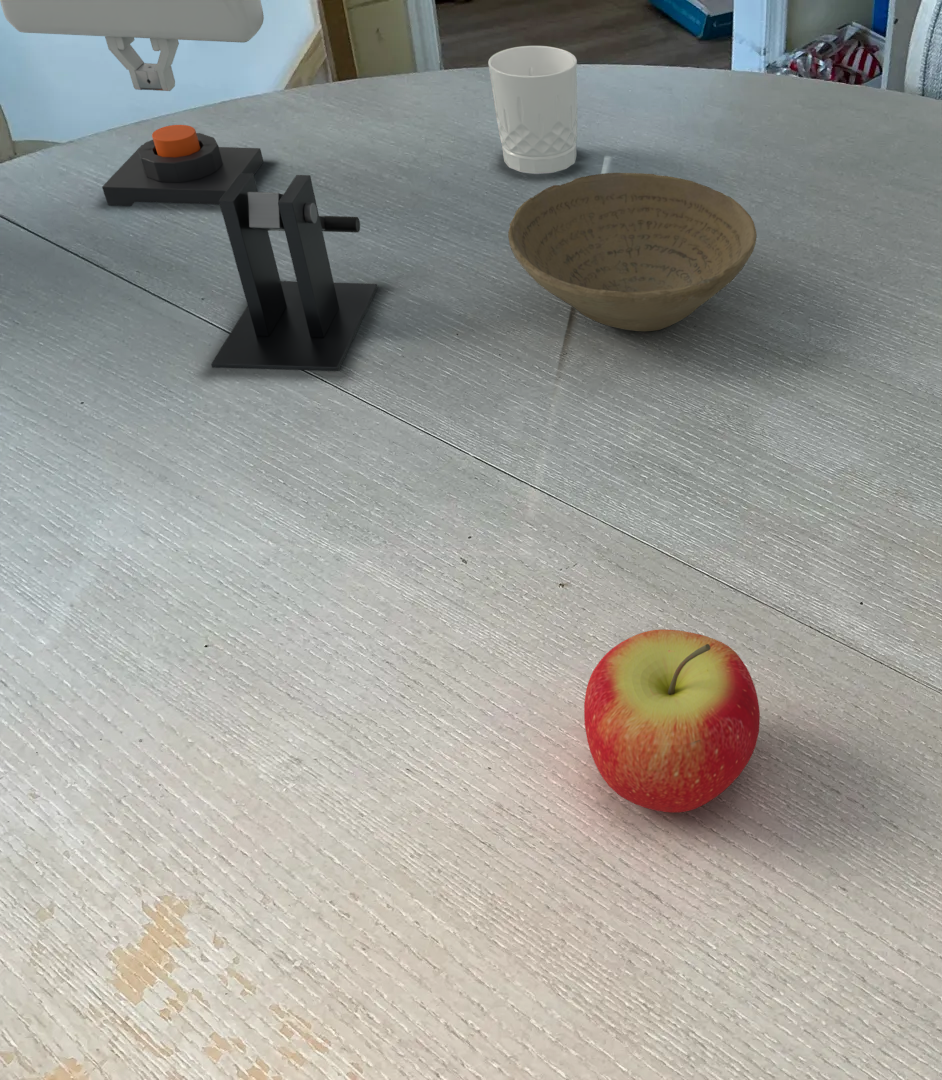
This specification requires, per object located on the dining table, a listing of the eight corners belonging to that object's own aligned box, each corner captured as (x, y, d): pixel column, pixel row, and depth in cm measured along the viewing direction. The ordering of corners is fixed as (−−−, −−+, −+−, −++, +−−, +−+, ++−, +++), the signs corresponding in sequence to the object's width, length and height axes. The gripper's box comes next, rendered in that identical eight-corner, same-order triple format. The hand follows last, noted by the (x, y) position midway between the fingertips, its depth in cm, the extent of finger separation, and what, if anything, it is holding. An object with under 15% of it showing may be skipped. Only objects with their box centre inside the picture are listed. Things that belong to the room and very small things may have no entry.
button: (151, 159, 103) (145, 140, 102) (166, 143, 106) (160, 123, 105) (192, 160, 103) (186, 141, 102) (206, 144, 106) (201, 125, 105)
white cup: (486, 179, 110) (474, 70, 103) (517, 146, 116) (507, 41, 109) (566, 189, 109) (559, 80, 102) (593, 155, 114) (588, 50, 108)
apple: (731, 865, 55) (738, 728, 49) (562, 822, 57) (546, 683, 50) (773, 733, 61) (784, 595, 54) (619, 697, 63) (611, 559, 56)
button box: (109, 210, 104) (94, 166, 101) (148, 167, 110) (135, 125, 108) (234, 214, 104) (222, 170, 101) (266, 170, 110) (255, 128, 108)
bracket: (266, 293, 93) (229, 149, 86) (379, 297, 93) (352, 153, 86) (215, 377, 84) (167, 225, 77) (340, 381, 84) (305, 229, 77)
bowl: (785, 364, 87) (791, 267, 82) (539, 399, 83) (529, 299, 78) (715, 249, 101) (718, 159, 95) (500, 274, 96) (490, 182, 91)
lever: (284, 238, 93) (283, 207, 92) (360, 240, 93) (360, 209, 92) (220, 226, 81) (219, 190, 81) (307, 229, 81) (306, 193, 81)
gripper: (-49, -86, 89) (16, 96, 98) (222, -74, 89) (262, 107, 98) (-9, -107, 94) (49, 69, 103) (248, -95, 94) (284, 80, 103)
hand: (155, 88), depth 101 cm, fingers closed
